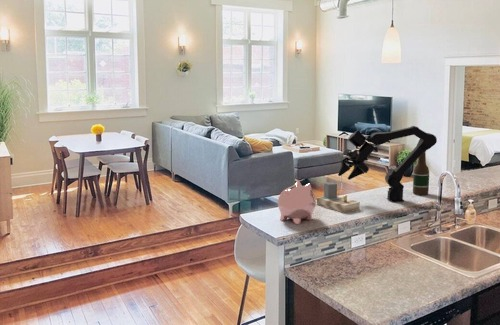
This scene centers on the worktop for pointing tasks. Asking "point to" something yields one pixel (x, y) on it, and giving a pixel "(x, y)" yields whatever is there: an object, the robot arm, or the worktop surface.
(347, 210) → the stand
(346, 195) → the brass pin
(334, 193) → the grey block
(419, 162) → the beer bottle
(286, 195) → the piggy bank
